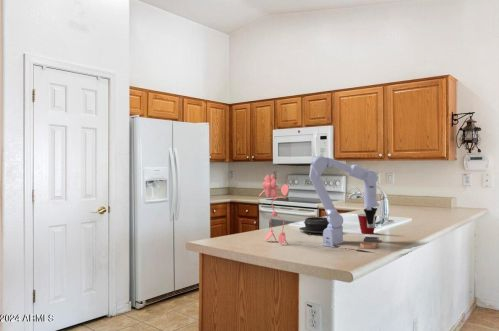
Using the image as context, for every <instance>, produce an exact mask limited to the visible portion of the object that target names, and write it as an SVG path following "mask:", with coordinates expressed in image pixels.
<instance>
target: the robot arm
mask: <svg viewBox="0 0 499 331" xmlns="http://www.w3.org/2000/svg"><path fill="white" fill-rule="evenodd" d="M332 167H333V168H336V169H338V170H341V171H343V172H347V173H348V176H350V177H352V178H356V179H358V180H361V181H362V180H363V195H364V196H363V197H364V198H363V201H364V202H363V207H365V208H363V212H364V214H366V217H367V221H368V224H373V221H374V215H376V213H377V210H378V208H377V207H379V206H380V204H377V203H378V202H377V199H378V198H377V196H378V195H377V181H378V179H379V176H378V175H377V174H378V173H376V172H375V171H373V170H370V169H369V168H367V167H366V168H364V167H363V166H360V164H358V163H357V164H352V165H349V164H346V163H344V162H341V161H339V160H336V159H335V158H330V157H326V156H324V155H323V156H322V155H319V156H316V157H314V158H313V159H312V161H311V163H310V167H309V168H310V169H309V179H310V182H311V183H312V185H313V188H314V190H315V192H316V194H317V196H318V198H319V200H320V203H321V204H322V206H323V209H324V210H325V214H326V218H327V221H328V222H329V224H328V227H327V228H326V229H324V231H323V234H322V244H321V245H322V246H325V247H331V248H338V247H340V245H339V244H343V243H344V227H343V223H344V218H343V216H342V215H341V214H339V212H338V210H337V209H336V207H335V205H334V203H333V202H332V199H331V197H330V195H329V193H328V190H327V189H326V187H325V185H324V183H323V181H322V180H323V179H322V178H321V176H322V174H323V171H324V170H325V169H326V168H332ZM337 244H338V245H337Z"/></svg>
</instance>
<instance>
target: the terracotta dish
mask: <svg viewBox="0 0 499 331" xmlns="http://www.w3.org/2000/svg"><path fill="white" fill-rule="evenodd" d="M359 246H360V247H361V248H366V249H365V250H374V249H373V248H376V244H375V243H370V242H364V243H362V242H360V243H359Z"/></svg>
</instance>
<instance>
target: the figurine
mask: <svg viewBox="0 0 499 331" xmlns="http://www.w3.org/2000/svg"><path fill="white" fill-rule="evenodd" d="M263 180H264V182H262V184H261V187H262V188H263V191H262V192H261V193H259V195H258V198H259V197H261V196H262V194H263V193H264V194H265V197H266V199H269V198H271V199H272V200H271V202H270V203H271V207H272V210H273V211H272V213H271V216H270V217H269V218H270V219H269V220H270V222H272V218H273V217H274V218H276V217H277V218H279V219H281V220H283V224H282V231H281V232H280V233H279V235H278V237H277V239H276V237H275V234H274V229H273V228H272V226H270V231H269V232H267V234H266V236H265V239H264V241H265V242H267V241H268V240H270V239H271V237H272V236H273V238H274V240H275V241H276V240H278V242H279V244H280V245H282V244H284V242H285V244H286V243H287V244H288V241H287V240H286V237H287V236H286V233H285V232H284V228H285V227H284V225H285V219H284V218H282V217H280V216H278V212H277V211H275V208H274V204H273V202H274V201H275V200H277V199H278V198H282V199H285V200H286V199H287V194H288V193H289V191H290V188H289V186H288V185H287V184H286V183H284V184H283V185H282V186H281V194H282V195H283V196H280V195H279V194H278V192H277V191H278V190H279V188H280V187H279V185H278V184H277V181H276V179H275V176H274V174H271V176H270V175H269V174H266V176H265V177H264V179H263ZM269 238H270V239H269Z"/></svg>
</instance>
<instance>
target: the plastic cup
mask: <svg viewBox="0 0 499 331" xmlns="http://www.w3.org/2000/svg"><path fill="white" fill-rule="evenodd" d="M356 215H357V218H358V221H359V222H358V223H359V228H360V232H361V234H362V235H373V234H375V233H374V232H375V228H367V217H366V214H365V213H356ZM378 216H379V215H377V214H375V222H376V221H377V218H378Z"/></svg>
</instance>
